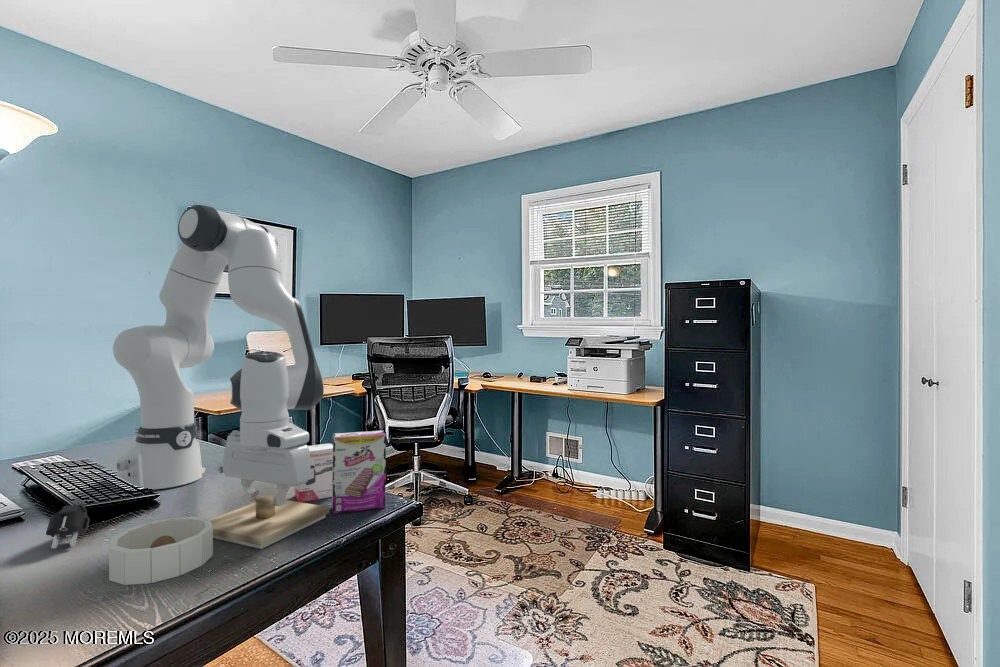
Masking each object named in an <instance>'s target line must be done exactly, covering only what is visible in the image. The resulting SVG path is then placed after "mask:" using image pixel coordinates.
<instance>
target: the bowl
mask: <svg viewBox="0 0 1000 667" xmlns="http://www.w3.org/2000/svg"><path fill="white" fill-rule="evenodd" d="M210 519H211V518H205V517H199V516H184V517H179V516H178V517H170V518H166V519H160V520H156V521H150V522H145V523H143V524H141V525H137V526H134V527H131V528H129V529H125V530H124V531H122V532H120V533H119V534H117V535H115V536H114V537H113V538H111V539H109V543H108V580H109V581H111V582H114V583H117V584H120V585H123V586H129V585H131V586H132V585H145V584H154V583H157V582H160V581H165V580H169V579H173V578H176V577H180V576H182V575H185V574H187V573H189V572H191V571H194V570H195V569H198V568H199V567H202V566H204V565H205V563H206V562H208V560H210V559H211V558H212V557H213V555H214V538H213V525H212V523H211V521H210ZM161 536H171V537H172V538H174V540H175V542H176V543H173V544H168V545H164V546H159V547H155V548H150V546H151V544H152V543H153V541H154V540H155V539H157V538H159V537H161Z"/></svg>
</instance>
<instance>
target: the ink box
mask: <svg viewBox="0 0 1000 667" xmlns="http://www.w3.org/2000/svg"><path fill="white" fill-rule="evenodd" d="M307 446H308V448H309V451H310V462H311V474H310V478H309V480H308V481H307V482H306V483H304V484H302V485H299V486H296V487H294V489H295V490H294V492H295V493H294V495H295V498H296V501H297V502H302V503H306V502H310V501H315V500H321V499H327V498H332V477H333V443H321V444H314V445H307ZM305 501H306V502H305Z"/></svg>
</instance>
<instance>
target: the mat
mask: <svg viewBox="0 0 1000 667" xmlns="http://www.w3.org/2000/svg"><path fill="white" fill-rule="evenodd" d="M326 516H327V514H326V515H324V516H322V517H320V518H318V519H316V520H313V521H311V522H309V523H307V524H305V525H303V526H301V527H299V528H297V529H295V530H293V531H291V532H289V533H287V534H285V535H283V536H281V537H278V538H276V539H274V540H272V541H270V542H268V543H266V544H264V545H262V546H260V545H255V544H251V543H246V542H241V541H237V540H232V539H228V538H223V537H219V536H214V535H213V539H216V540H221V541H225V542H228V543H233V544H236V545H237V544H238V545H242V546H247V547H251V548H256V549H261V550H262V549H265V548H266V547H268V546H271V545H272V544H275V543H277V542H278V541H280V540H282V539H284V538H287V537H288V536H289V537H290V535H293V534H294V533H297V532H299V531H301V530H303V529H305V528H307V527H309V526H311V525H313V524H315V523H317V522H319V521H321V520H323V519H326V518H327V517H326Z"/></svg>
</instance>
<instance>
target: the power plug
mask: <svg viewBox="0 0 1000 667" xmlns="http://www.w3.org/2000/svg"><path fill="white" fill-rule="evenodd" d="M47 524H48V525H47V529H46V532H45V534H46V535H47V536H50V537H52V538H53V539H52V544H51V547H50V549H52V550H55V549H57V548H58V545H59V541H60V539H64V538H66V539H67V538H70V537H71V538H70V542H69V547H75V546H76V544H77V543H76V542H77V539H78V537H79V536H82V535H85V534H86V533H87V532H88V528H89V526H90V525H89V524H90V517H89V516H88V510H87V508H86V507H85V506H84V504H82V503H78V504H71V505H70V504H69V505H64V506H62V509H61V510H59V511H57V512H56V513H55V514H53V515H51V516H50V519H49V521H48V523H47Z"/></svg>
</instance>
